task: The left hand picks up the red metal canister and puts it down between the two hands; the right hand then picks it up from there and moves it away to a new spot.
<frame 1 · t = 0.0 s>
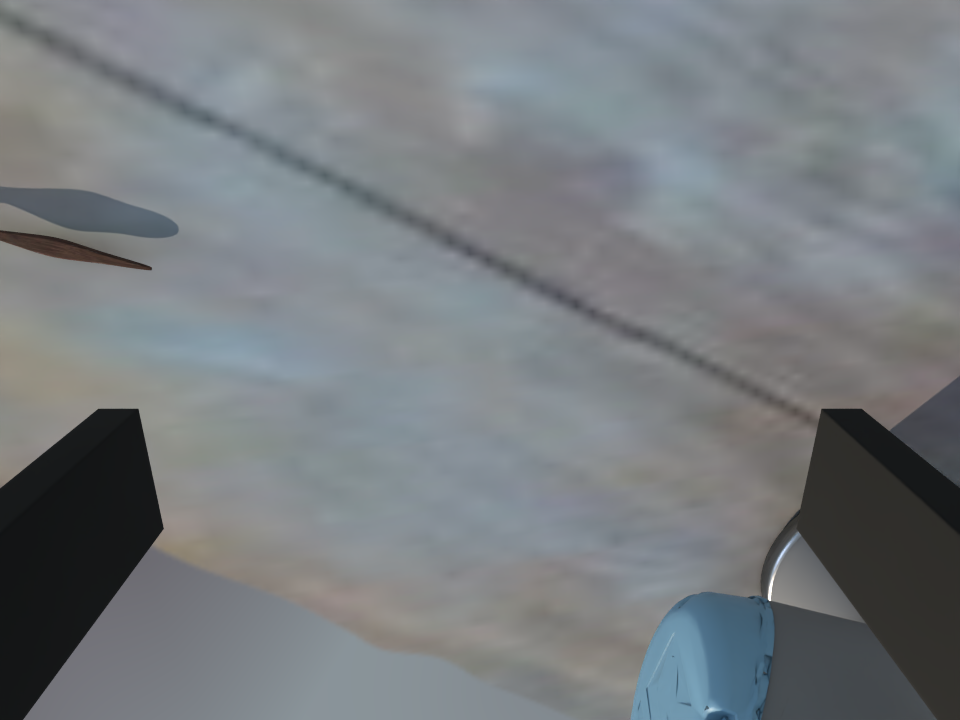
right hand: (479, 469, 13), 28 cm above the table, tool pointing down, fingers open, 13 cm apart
fork: (21, 236, 39), on the table
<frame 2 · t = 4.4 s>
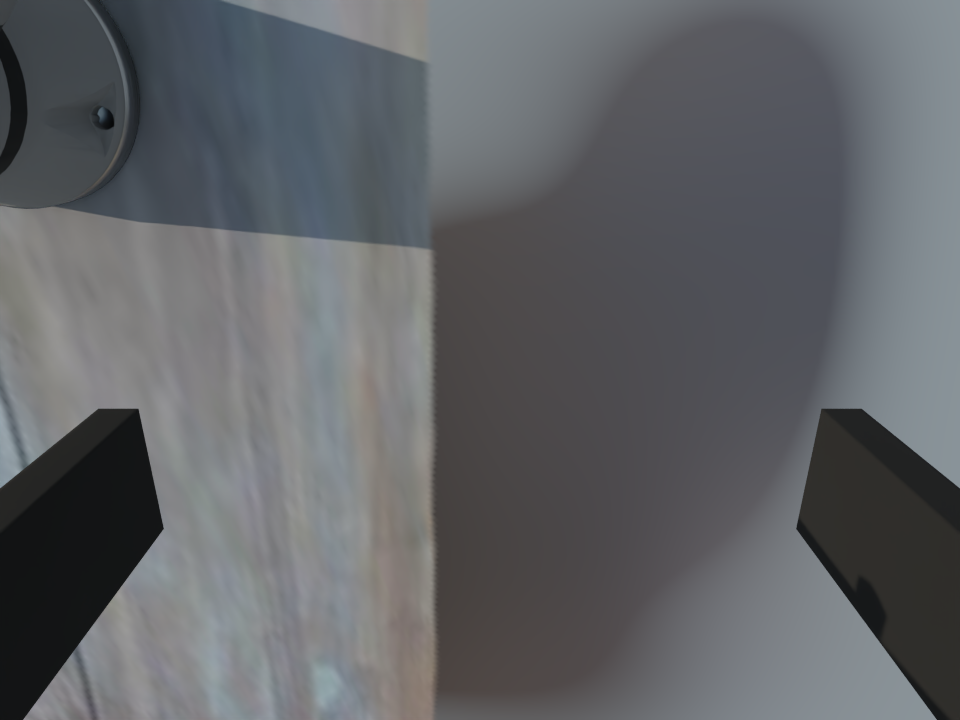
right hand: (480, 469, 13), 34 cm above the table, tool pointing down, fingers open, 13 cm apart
when the left hand's fingers open (5 cm above the table, at t = 9.3 s): canister drops 1 cm, on the table.
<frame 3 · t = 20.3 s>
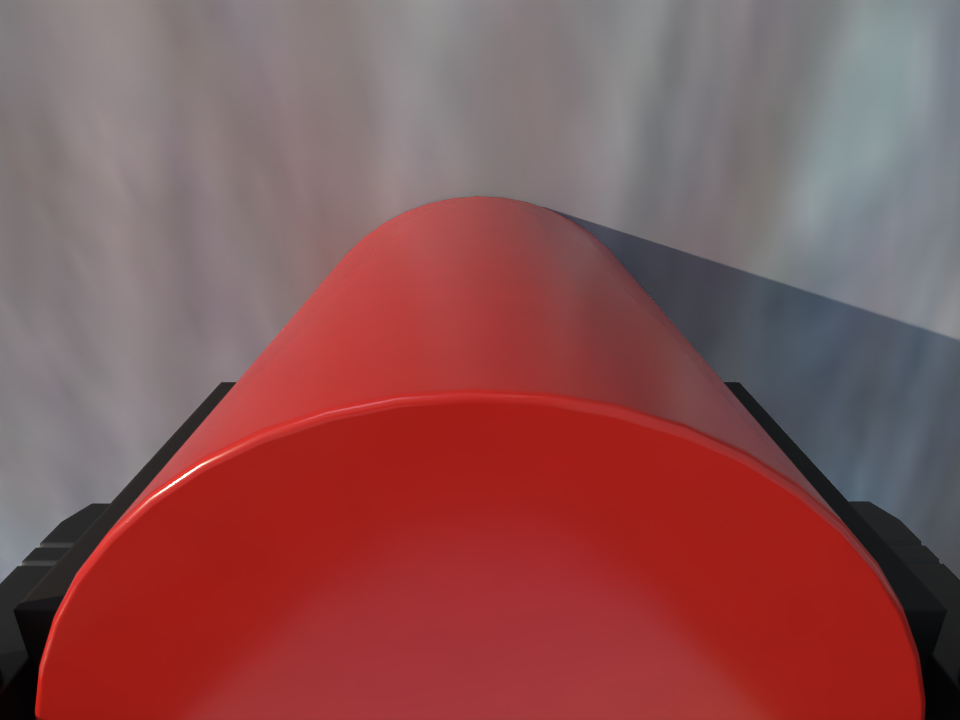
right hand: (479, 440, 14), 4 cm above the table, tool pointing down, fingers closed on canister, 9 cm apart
canister: (480, 371, 18), on the table, touching right hand
when the right hand's fingers open (5 cm above the table, at t = 29.9 s): canister drops 1 cm, on the table.
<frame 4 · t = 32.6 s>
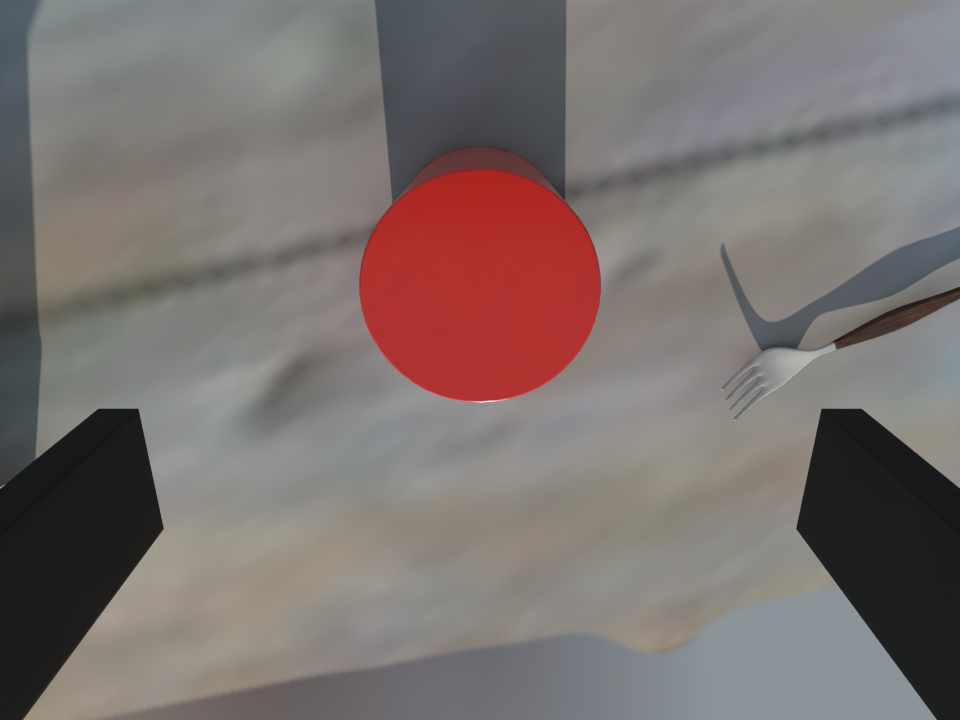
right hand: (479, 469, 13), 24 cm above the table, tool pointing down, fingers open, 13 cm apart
canister: (480, 235, 36), on the table
fork: (847, 333, 38), on the table
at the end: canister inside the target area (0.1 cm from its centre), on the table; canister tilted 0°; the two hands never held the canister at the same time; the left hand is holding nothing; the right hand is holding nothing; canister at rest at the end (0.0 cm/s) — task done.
